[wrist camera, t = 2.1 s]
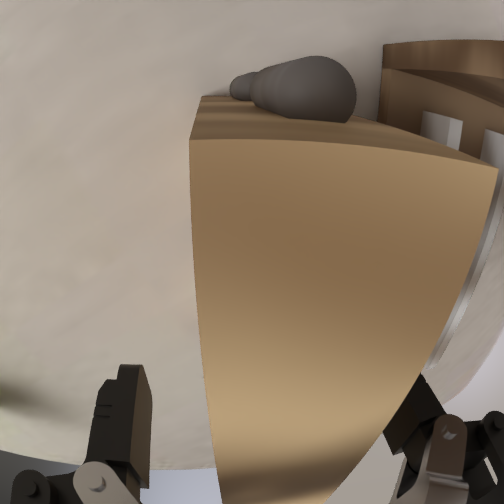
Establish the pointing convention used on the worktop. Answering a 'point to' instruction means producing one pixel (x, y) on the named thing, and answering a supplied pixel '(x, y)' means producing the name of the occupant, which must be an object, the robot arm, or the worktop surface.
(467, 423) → the robot arm
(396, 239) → the oak door
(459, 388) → the worktop surface
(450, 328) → the hinge base
